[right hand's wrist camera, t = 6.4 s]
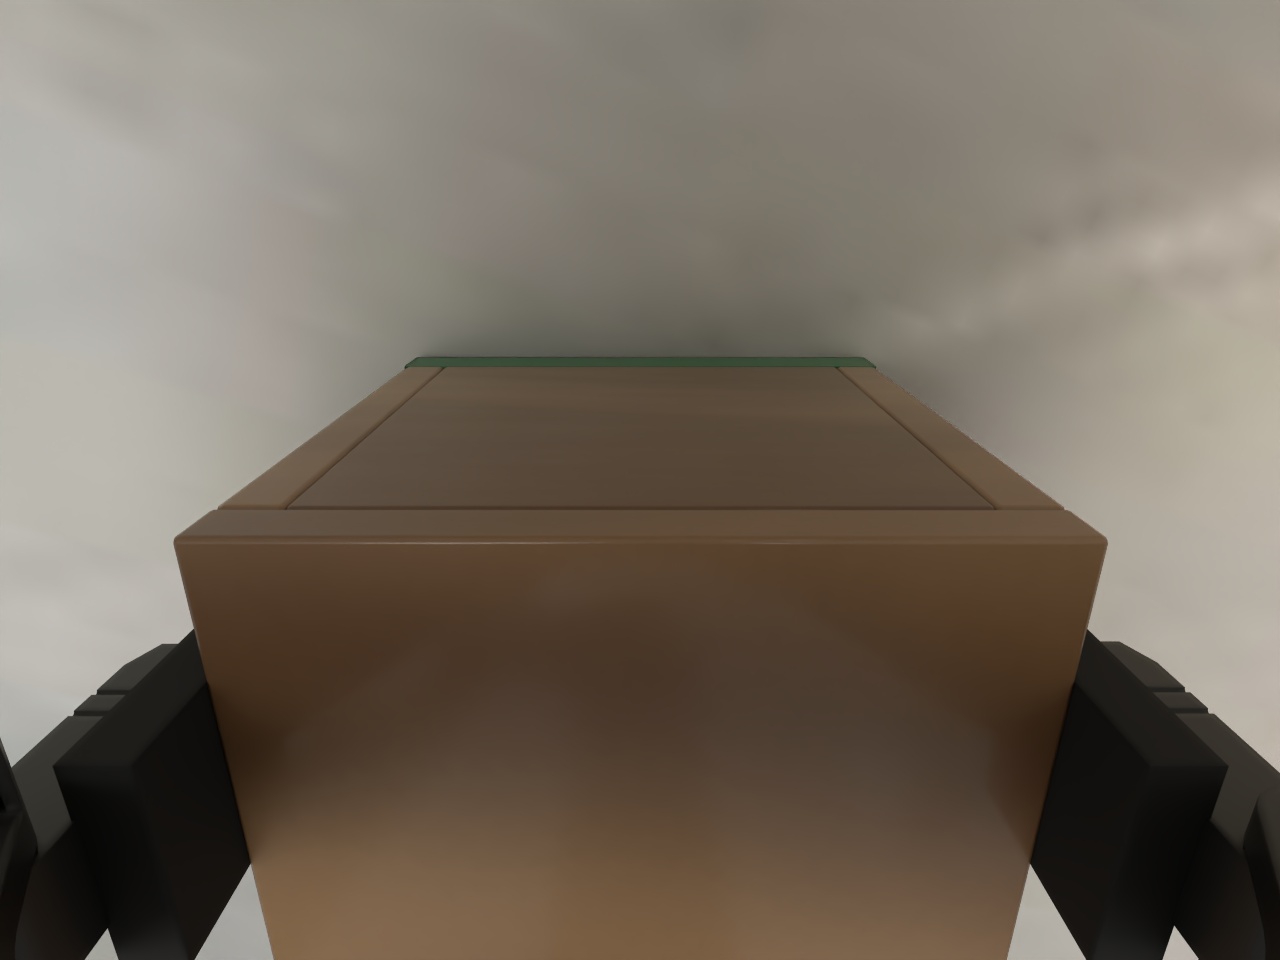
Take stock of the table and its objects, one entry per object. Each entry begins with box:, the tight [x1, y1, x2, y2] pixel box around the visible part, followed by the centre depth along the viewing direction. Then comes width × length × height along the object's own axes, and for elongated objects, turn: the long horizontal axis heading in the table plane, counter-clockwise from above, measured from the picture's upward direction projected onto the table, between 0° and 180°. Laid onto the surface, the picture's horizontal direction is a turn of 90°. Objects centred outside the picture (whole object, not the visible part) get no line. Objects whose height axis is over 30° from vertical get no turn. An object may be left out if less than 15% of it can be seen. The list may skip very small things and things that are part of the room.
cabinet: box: [174, 357, 1108, 960], centre depth 16 cm, size 21×10×9 cm, turn 0°
